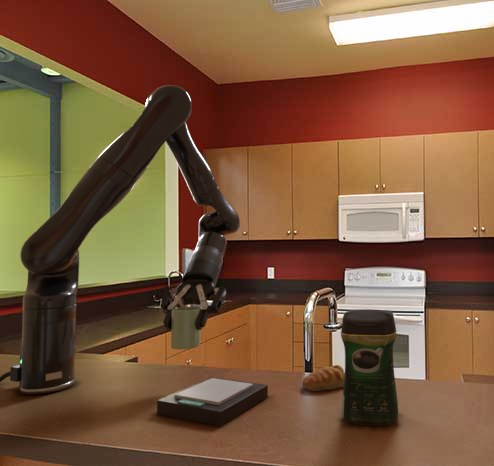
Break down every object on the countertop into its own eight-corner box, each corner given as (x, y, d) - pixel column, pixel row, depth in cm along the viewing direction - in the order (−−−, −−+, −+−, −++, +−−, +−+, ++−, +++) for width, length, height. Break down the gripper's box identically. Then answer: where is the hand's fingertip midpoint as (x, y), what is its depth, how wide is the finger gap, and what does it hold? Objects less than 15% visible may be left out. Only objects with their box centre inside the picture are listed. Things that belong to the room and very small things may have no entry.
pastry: (313, 395, 80) (312, 376, 80) (295, 387, 85) (295, 368, 85) (349, 385, 86) (349, 367, 86) (331, 378, 91) (331, 361, 91)
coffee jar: (399, 410, 72) (398, 306, 73) (396, 430, 65) (395, 313, 65) (346, 407, 74) (345, 305, 75) (337, 425, 66) (336, 312, 67)
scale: (156, 414, 71) (156, 396, 72) (211, 388, 84) (211, 374, 85) (220, 426, 66) (220, 407, 66) (267, 397, 79) (267, 381, 79)
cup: (164, 348, 84) (165, 309, 85) (185, 342, 90) (186, 306, 90) (186, 350, 82) (186, 311, 83) (206, 344, 88) (206, 307, 88)
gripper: (169, 257, 94) (142, 317, 82) (230, 257, 94) (213, 317, 82) (178, 278, 99) (154, 337, 87) (236, 278, 99) (221, 337, 87)
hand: (183, 327), depth 84 cm, fingers closed on cup, 6 cm apart
